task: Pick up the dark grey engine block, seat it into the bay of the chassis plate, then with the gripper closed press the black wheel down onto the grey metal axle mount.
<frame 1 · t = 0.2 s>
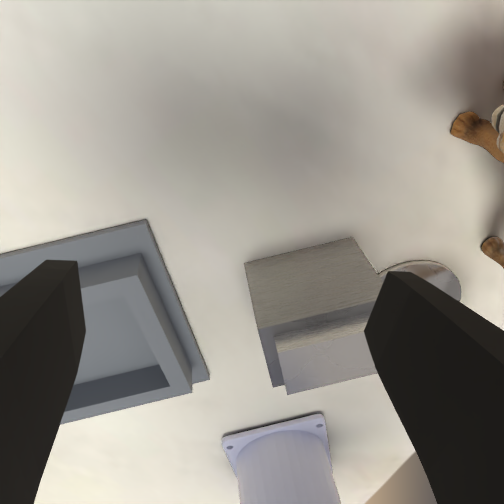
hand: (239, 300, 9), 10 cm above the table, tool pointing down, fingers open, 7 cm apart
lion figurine: (485, 156, 19), on the table
axle mount: (403, 306, 24), on the table
chassis: (27, 346, 22), on the table
engine block: (302, 278, 22), on the table
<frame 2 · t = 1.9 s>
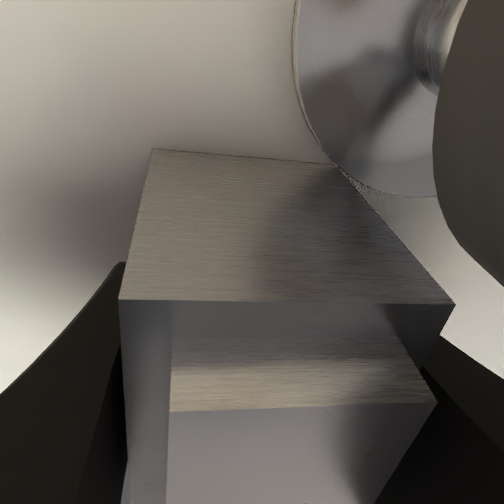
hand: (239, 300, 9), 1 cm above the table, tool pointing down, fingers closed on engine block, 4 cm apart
axle mount: (459, 32, 8), on the table
engine block: (233, 265, 10), on the table, touching gripper
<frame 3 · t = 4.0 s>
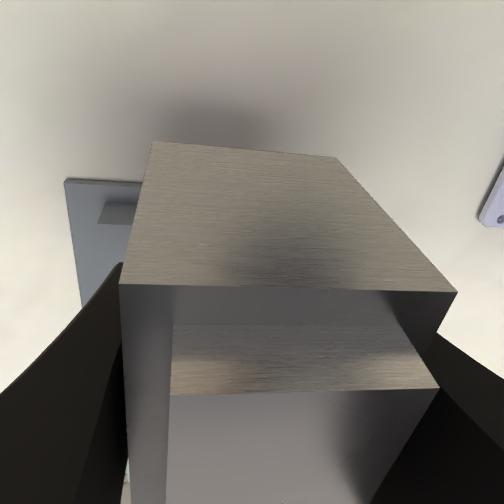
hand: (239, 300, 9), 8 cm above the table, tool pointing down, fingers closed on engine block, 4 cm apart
chassis: (204, 338, 21), on the table
engine block: (233, 259, 10), point 7 cm above the table, touching gripper
when the fingers open (3 cm above the table, at t = 5.9 s): engine block drops 1 cm, resting on chassis.
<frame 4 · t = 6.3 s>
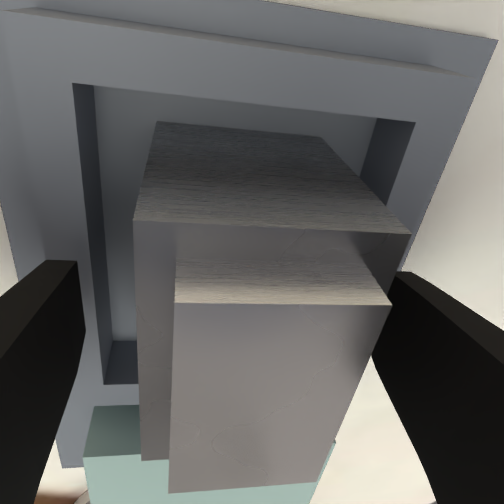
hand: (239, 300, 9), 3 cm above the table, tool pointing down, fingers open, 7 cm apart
chassis: (218, 306, 13), on the table
engine block: (229, 231, 11), resting on chassis
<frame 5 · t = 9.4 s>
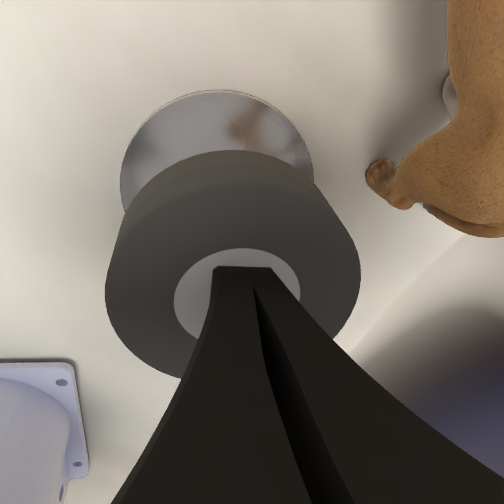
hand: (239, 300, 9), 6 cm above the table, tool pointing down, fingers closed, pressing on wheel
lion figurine: (397, 0, 12), on the table
axle mount: (219, 189, 14), on the table
wheel: (234, 276, 10), point 5 cm above the table, slide at 0.1 cm, touching gripper
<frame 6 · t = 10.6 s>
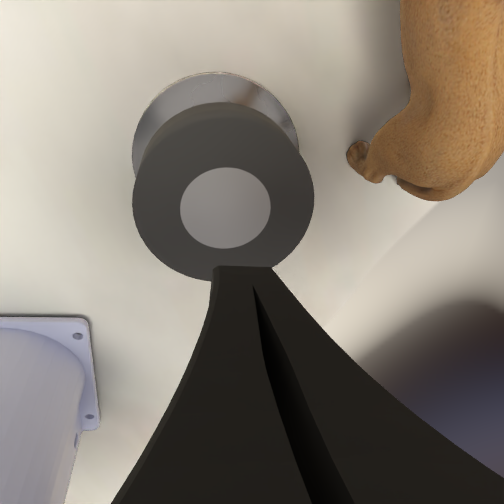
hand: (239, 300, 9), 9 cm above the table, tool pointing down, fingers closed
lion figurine: (369, 5, 14), on the table
axle mount: (217, 160, 17), on the table
wheel: (223, 197, 14), point 4 cm above the table, slide at 1.9 cm
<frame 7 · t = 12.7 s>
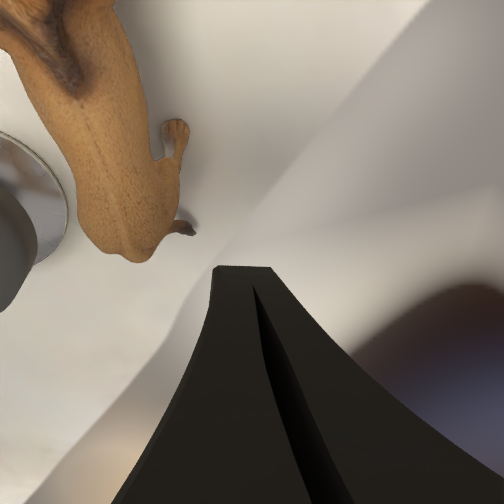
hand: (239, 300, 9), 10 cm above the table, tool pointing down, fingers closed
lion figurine: (100, 70, 15), on the table
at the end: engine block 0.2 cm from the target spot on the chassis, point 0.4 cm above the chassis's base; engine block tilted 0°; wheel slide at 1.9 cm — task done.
